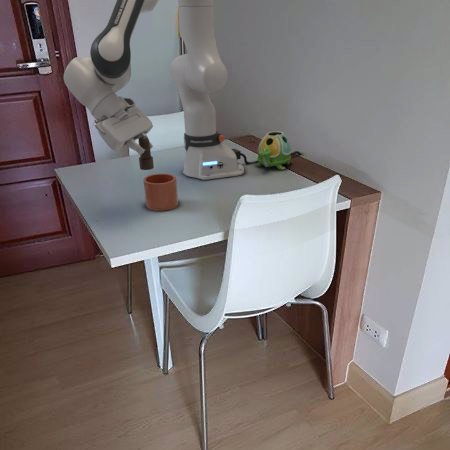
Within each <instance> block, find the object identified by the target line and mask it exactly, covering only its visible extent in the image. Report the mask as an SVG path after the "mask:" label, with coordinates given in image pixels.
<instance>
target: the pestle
mask: <svg viewBox="0 0 450 450" xmlns="http://www.w3.org/2000/svg"><path fill="white" fill-rule="evenodd" d="M147 137H148V136H147ZM147 137H146V136H141V137H140V138H139V139H138V145H140V146H143V147H144V148H145V150H146V151H145V152H144V153H143V154H142V155H139V157H138V164H139V169H140V170H142V171H150V170H153V169H155V166H154V165H155V164H154V157H153V156H152V153H151V152H152V151H151V149H150V143H151V142H150V139H149V137H148V138H147ZM149 142H150V143H149Z"/></svg>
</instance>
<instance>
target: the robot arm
mask: <svg viewBox="0 0 450 450" xmlns="http://www.w3.org/2000/svg"><path fill="white" fill-rule="evenodd" d="M158 2H159V0H116V1H115V4H114V6H113V9H112V12H111V15H110V16H109V19H108V22H107V24H106V26H105V28H104V29H103V30H102V31H101V32H100V33H99V34H98V35H96V37H95V38H94V40H93V41H92V43H91V46H90V49H89V50H90V53H89V55H90V56H86V57H78V56H77V57H74V58H73V59H71V60H70V61H69V62H68V63H67V65H66V66H65V69H64V72H63V82H64V85H65V86H66V88H67V89H68V91H69V92H70V93H71V94H72V95H73V97H75V99H76V100H77V101H78V102H79V103H80V104H81V105H82V106H84V107H86V109H88V111H89V113H90V115H91V116H92V117H93V118H94V128H95V129H96V130H97V133H98V135H99V136H100V138H101V139H102V140H103V141H104V143H106V145H107V146H108V147H109V148H110V149H111V150H113V151H115V152H116V151H118V150H120V149H122V148H124V147H125V146H127V147H128V148H129V149H130V150H133V151H135V152H136V153H137V154H138V155H139V156H140V155H142V154H143V153H144V152H145V151H146V150H145V148H144V147H143V146H140V145H139V143H137V142H136V140H139V138H140V137H141V136H146V137H147V138H148V139H149V137H148V135H147V134H149V132H150V131H151V130H152V129H153V127H154V125H153V122H152V120H151V119H150V118H149V117H148V116H147V115H146V113H145V112H144V111H143V110H142V109H141V108H139V107H138V106H136V104H137V102H135V100H134V99H133V98H129V97H123V96H119V95H118V94H116V93H118V92H119V91H120V90H121V89H123V88H124V87H126V86H127V85H128V83H129V82H130V81H131V77H132V62H131V60H132V59H131V58H132V57H131V55H132V54H131V53H132V51H131V38H132V35H133V33H134V30H135V29H136V25H137V23H138V20H139V17H140V15H141V14H145V13H146V14H147V13H150V12H152V11H153V10H154V9H155V7H156V6H157V4H158ZM177 2H178V3H177V11H178V26H179V27H178V30H179V36H180V38H181V40H182V41H183V44H184V45H185V49H186V53H184V54H180V55H178V56H176V57H174V59H173V60H172V62H171V64H170V67H169V68H170V69H169V70H170V77H171V78H172V80H173V82H174V84H175V85H176V88H177V92H178V95H179V98H180V102H181V107H182V112H183V121H184V133H183V146H184V150H185V156H184V157H185V158H184V166H183V171H182V173H183V174H184V175H185V176H187V177H191V178H196V179H199V180H202V181H207V180H214V179H222V178H223V179H224V178H227V177H228V178H231V177H237V176H242V175H243V174H244V173H245V168H244V166H243V165H242V163H239V162H238V160H241V157H243V161H244V163H245V164H246V165H252V164H258V163H259V162H258V160H255V161H251V162H249V161H248V160H247V155H246V154H244V153H242V151H241V150H238V149H237V148H231V147H229V146H227V145H226V144H225V143H224V141H225V136H224V135H223V134H222V133H220V131H217V115H216V113H217V111H216V108H215V106H214V104H213V103H212V101H211V98H210V95H209V94H216V93H219V92H221V91H223V89H224V88H225V86H226V84H227V83H228V70H227V67H226V65H225V64H224V63H223V61H222V59H221V56H220V54H219V50H218V46H217V41H216V36H215V25H214V24H215V21H214V20H215V17H214V0H177ZM149 143H150V150H151V149H152V148H154V147H153V146H154V145H153V144H152V142H150V141H149ZM296 154H297V155H298V156H301V155H302V153H301V152H300V151H298V150H295V151H293V152H291V155H290V156H291V157H293V156H294V155H296Z"/></svg>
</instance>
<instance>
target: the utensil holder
mask: <svg viewBox="0 0 450 450" xmlns="http://www.w3.org/2000/svg"><path fill="white" fill-rule="evenodd" d="M143 190H144V200H145V206H146V208H147V209H148V210H151V211H154V212H155V211H156V212H165V211H170V210H173V209H175V208H177V207H178V205H179V199H178V184H177V176H175V175H174V174H171V173H153V174H149V175H147V176H145V177H143Z"/></svg>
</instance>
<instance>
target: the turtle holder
mask: <svg viewBox="0 0 450 450" xmlns="http://www.w3.org/2000/svg"><path fill="white" fill-rule="evenodd" d="M291 153H292V147H291V143H290V141H289V138H288V136H286V134H285V133H284V132H282V131H279V130H278V131H277V130H275V131H273V130H272V131H269V132H267V133H265V135H264V137H262V138H261V140H260V142H259V144H258V147H257V158H256V159H257V160H256V161H258V163H256V165H257V167H259V168H261V167H262V166H263V167H265V168H269V167H274V166H275V167H276V169H277V170H279V171H283V170H286V167H285V166H283V165H286V166H288V165H290V164H291V158H292V156H290V155H291Z"/></svg>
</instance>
